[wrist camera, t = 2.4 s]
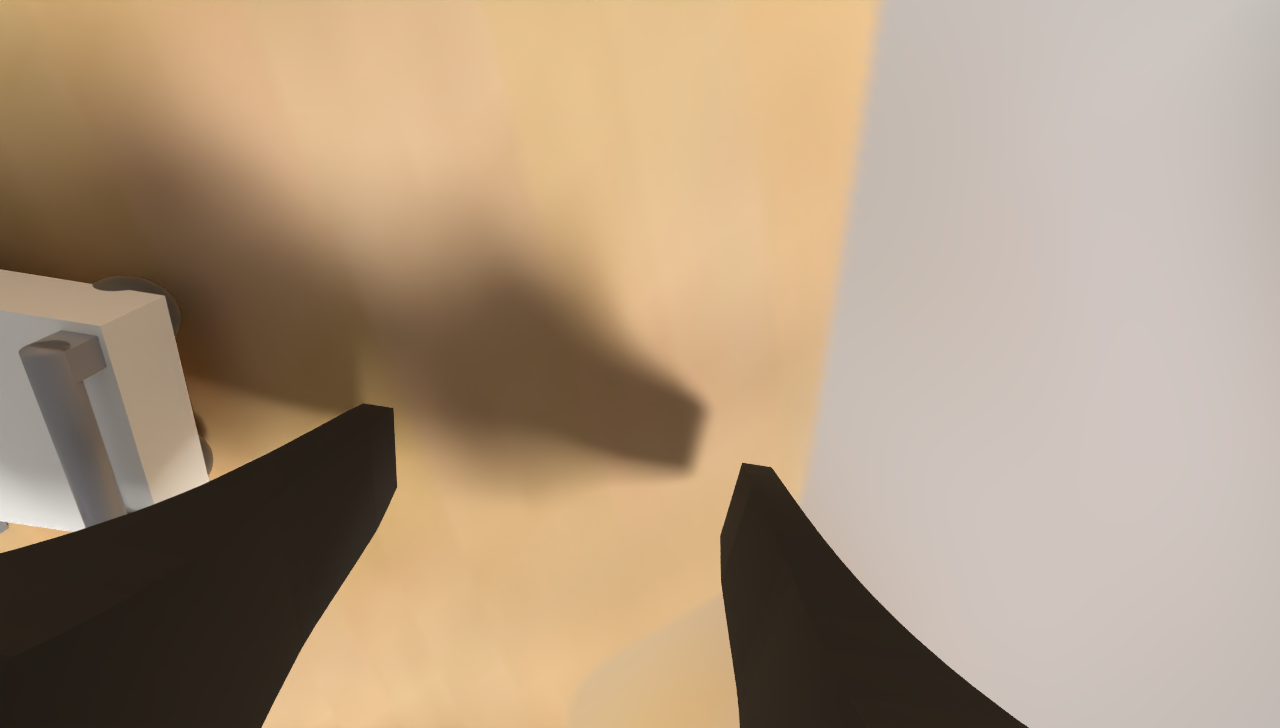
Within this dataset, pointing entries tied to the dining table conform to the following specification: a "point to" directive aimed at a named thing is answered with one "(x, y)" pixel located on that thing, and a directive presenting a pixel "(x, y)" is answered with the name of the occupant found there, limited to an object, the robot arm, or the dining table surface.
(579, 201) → the dining table surface
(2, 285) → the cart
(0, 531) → the dock
